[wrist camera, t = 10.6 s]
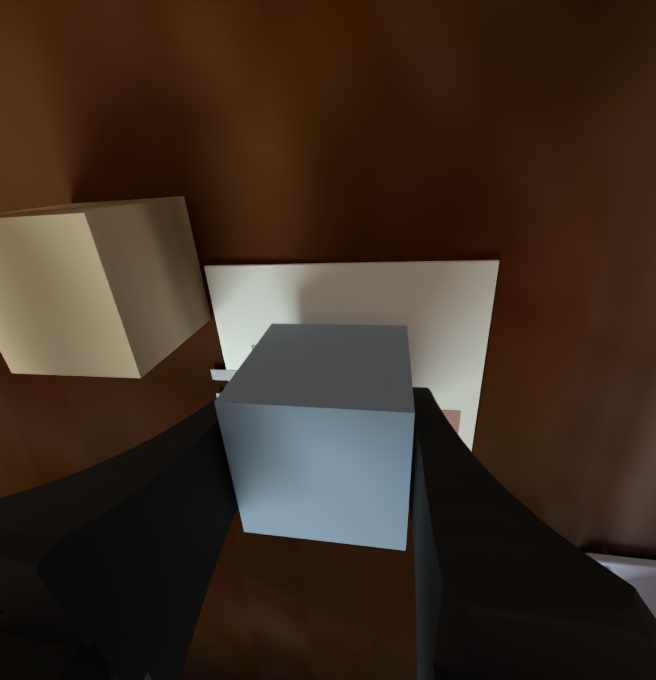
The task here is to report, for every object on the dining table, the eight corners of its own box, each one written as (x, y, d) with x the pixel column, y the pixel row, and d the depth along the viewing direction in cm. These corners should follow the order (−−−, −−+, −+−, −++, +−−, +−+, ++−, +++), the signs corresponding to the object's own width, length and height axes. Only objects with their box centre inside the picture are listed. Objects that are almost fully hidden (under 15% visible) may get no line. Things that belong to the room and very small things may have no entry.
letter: (498, 259, 11) (499, 261, 11) (470, 453, 15) (470, 455, 15) (188, 265, 13) (186, 266, 13) (228, 435, 17) (226, 437, 17)
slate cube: (407, 325, 12) (414, 412, 8) (401, 435, 14) (405, 550, 10) (271, 323, 12) (214, 402, 8) (285, 427, 14) (244, 531, 10)
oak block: (185, 195, 12) (83, 212, 8) (212, 317, 14) (140, 378, 10) (72, 203, 13) (-68, 221, 9) (113, 317, 15) (11, 373, 11)
